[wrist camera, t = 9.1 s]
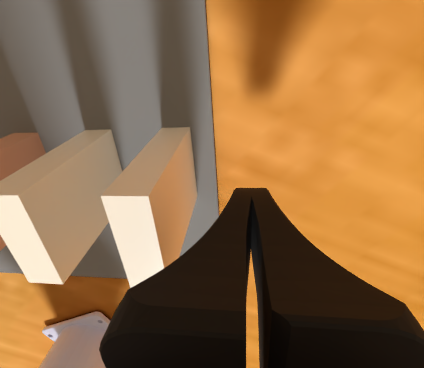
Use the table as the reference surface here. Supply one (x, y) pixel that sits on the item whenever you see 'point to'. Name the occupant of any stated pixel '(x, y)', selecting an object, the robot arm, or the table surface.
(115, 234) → the domino
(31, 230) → the domino
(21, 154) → the domino
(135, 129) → the felt mat
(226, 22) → the table surface
